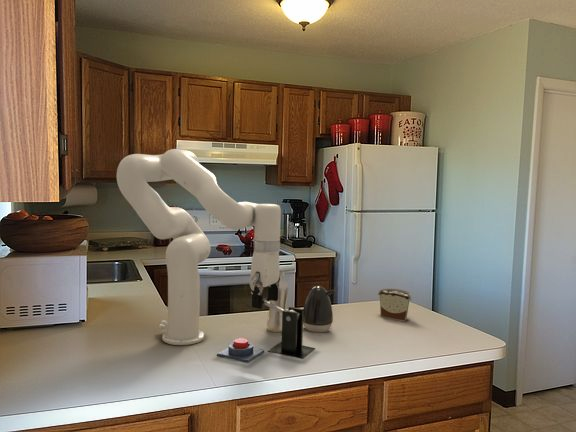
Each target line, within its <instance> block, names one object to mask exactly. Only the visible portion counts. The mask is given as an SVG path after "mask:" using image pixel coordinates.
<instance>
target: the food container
mask: <svg viewBox="0 0 576 432" xmlns="http://www.w3.org/2000/svg"><path fill="white" fill-rule="evenodd" d="M377 295H378V296H379V308H380V309H379V312H380V317H381V318H384V319H390V320H395V321H398V322H399V321H400V322H404V323H405V322H407V318H408V313H409V306H410V302H411V301H412V294H411V292H409V291H407V290H405V289H399V288H381V289H379V290H378V294H377Z"/></svg>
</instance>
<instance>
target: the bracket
mask: <svg viewBox="0 0 576 432" xmlns="http://www.w3.org/2000/svg"><path fill="white" fill-rule="evenodd" d="M286 310H287V309H286ZM286 310H283V311H282V332H281V341H280V342H279V343H277V344H275V345H274V346H272V347H271V348H269V349H268V350H267V352H269V353H271V354H277V355H282V356H287V357H291V358H296V359H301V360H304V359H305V358H306V357H307V356H308V355H310V354H311V353H312V352H313V351H315V350H316V347H312V346H307V345H303V336H304V324H303V313H304V308H301V307H300V308H299V307H293V306H289V307H288V310H287V311H286ZM290 310H294V311H296V312H292V311H290ZM298 313H300V315H299V318H298Z"/></svg>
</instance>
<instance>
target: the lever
mask: <svg viewBox="0 0 576 432" xmlns="http://www.w3.org/2000/svg"><path fill="white" fill-rule="evenodd" d="M269 301H270V299H269V298H268V297H266V298H263V305H264V306H267V307H268V308H269V307H270V308H272V309H274V310H276V311H278V312H280V313H282V311H283V310H285V309H283V308H281V307H279V306H276V305H274V304H272V303H270V302H269ZM286 311H288V310H287V309H286ZM290 311H292V312H296V311H294V310H290ZM299 315H300V313H298V318H299Z"/></svg>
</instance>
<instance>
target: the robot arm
mask: <svg viewBox="0 0 576 432" xmlns="http://www.w3.org/2000/svg"><path fill="white" fill-rule="evenodd" d="M171 180H172V181H174V182H176V183H177V184H179V185H180V186H181V187H182V188H184V189H185V190H186V191H187V192H189V193H190V194H191V195H192V196H194V197H195V198H196V199H197V201H198V202H199V204H200V205H201V206H202V207H203V208H204V210H205V211H206V212H207V213H209V215H211V216H212V217H213V218H214V219H216V220H217V221H218V222H219V223H221V224H222V225H224V226H225V227H226V228H227V229H231V230H234V231H235V230H236V231H239V230H242V229H245V228H249V227H250V228H251V227H254V230H253V231H254V232H253V253H252V257H251V265H250V276H249V277H250V278H249V282H248V283H249V287H250V288H249V289H250V294H251V307H252V308H253V309H259V310H262V309H263V305H264V304H263V300H264V295H263V294H262V293H263V291H264V289H265V288H266V287H267V298H269V299H270V300H272V301H278V287H279V281H280V275H281V271H282V270H280V252H281V250H280V249H281V219H282V209H281V206H280V205H279V204H276V203H255V202H251V201H250V202H249V201H239V202H237V201H236V200H235V199H233V198H232V197H231V196H230V195H228V194H227V193H226V192H224V191H223V190H222V188H221V187H220V186H219V185H218V182H217V177H216V176H215V174H214V173H213V172H211V171H210V170H209V169H207V168H206V167H205V166H203V165H201V163H200V161H199V158H198V157H197V155H196V154H195V153H194V152H192V151H190V150H187V149H182V148H181V149H180V148H171V149H169V150H167V151H165V152H164V153H162V154H161V153H160V154H145V153H133V154H129V155H127V156H124V157H123V158H122V159H121V160H120V162H119V164H118V166H117V170H116V183H117V186H118V189H119V191H120V193H121V195H122V196H123V197H124V199H125V200H126V201H127V202H128V203H129V205H130V206H131V207H132V209H133V210H134V211H135V212H136V214H137V216H138V217H139V218H140V219H141V220H142V222H143V223H144V225H145V226H146V227H147V229H148V230H149V232H151V234H152V235H153V236H154V237H155V238H156V239H159V240H168V239H169V240H170V239H172V241H170V242H169V244H168V245H167V247H166V250H165V263H166V269H167V320H161V322H160V324H159V325H158V329H160V330H164V333H163V334H162V337H161V338H162V342H164V343H166V344H168V345H171V346H189V345H190V346H191V345H194V344H198V343H200V342H202V341H204V339H205V333H204V332H203V331H202V330H200V318H201V317H200V312H201V311H200V310H201V308H200V307H201V305H200V304H201V278H200V277H201V276H200V271H199V264H200V263H202V262H204V261H205V260H207V258H209V256H210V254H211V252H212V251H211V250H212V249H211V246H212V245H211V242H210V240H209V238H208V237H207V235H206V234H205V233H204V231H203V230H202V229H201V228H200V226H199V225H198V224H197V222H196V221H195V220H194V218H193V217H192V216H191V214H190V213H188V212H187V211H186V210H185V209H183V208H181V207H179V206H168V204H167V203H166V202H165V200H163V198H162V197H161V195H160V194H159V193H158V191H156V190H155V189H154V188H153V187H152V186H151V185H149V183H154V182H155V183H156V182H164V181H171ZM269 286H271V287H269Z"/></svg>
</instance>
